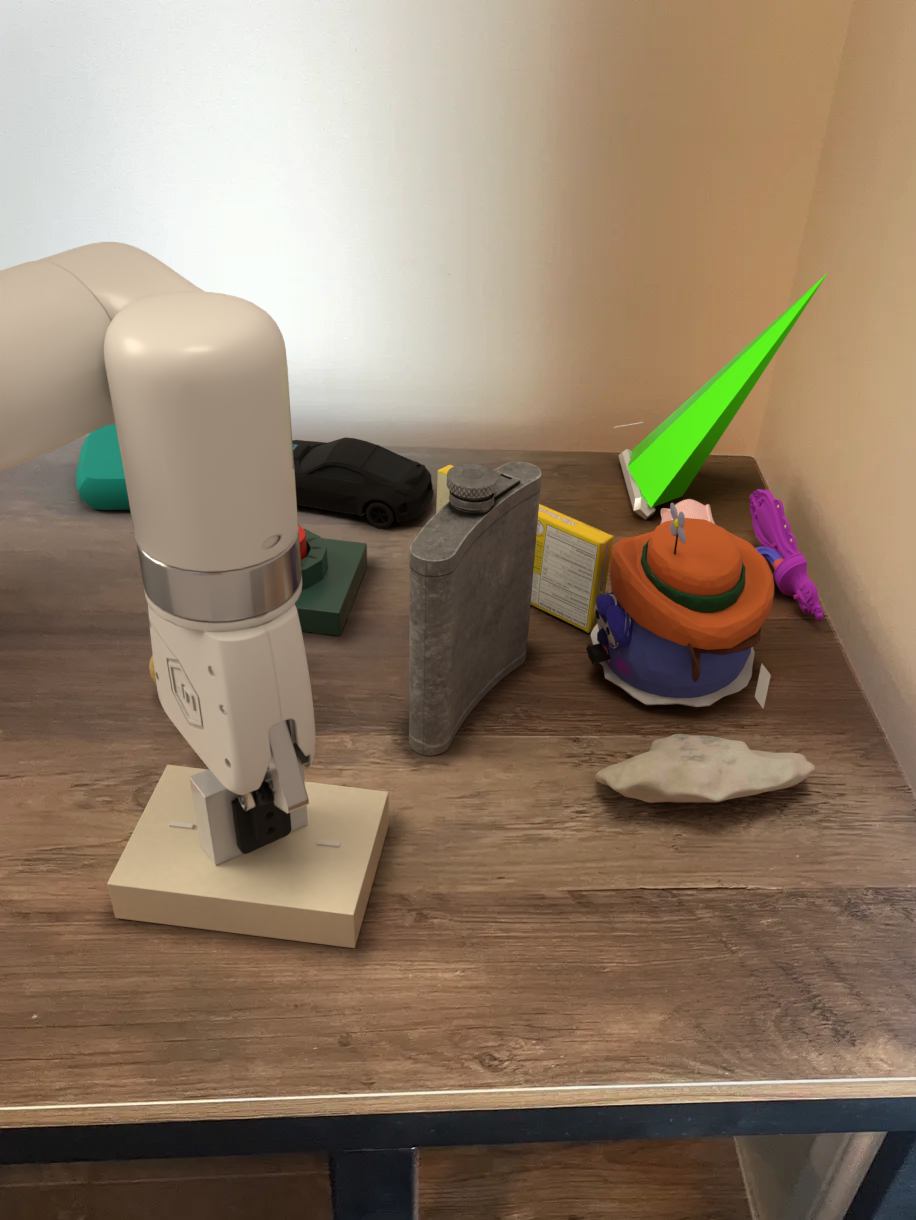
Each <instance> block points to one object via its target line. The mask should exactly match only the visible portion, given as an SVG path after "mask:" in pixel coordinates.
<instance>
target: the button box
mask: <svg viewBox="0 0 916 1220" xmlns="http://www.w3.org/2000/svg"><path fill="white" fill-rule="evenodd" d="M303 529H304V530H305V532H306V545H307V554H306V556H305V558H303V559H302V560H301V572H302V573H301V575H302V590H301V594H300V596H299V598H298V600H297V601H296V602H295V606H296V608H297V612H298V616H299V621H300V626H301V631H302V632H305V633H314V634H321V635H328V636H329V635H330V636H341V634H342V632H343V630H344V627H345V625H346V621H347V620H348V616H349V614H350V611H351V609H352V606H353V603H354V601H355V598H356V596H357V593H358V590H359V588H360V586H361V582H362V580H363V577H364V576H365V573H366V570H367V567H368V543H366V542H359V541H350V540H340V539H332V538H325V537H321V536H320V535H319V534H317V533H314V532H312V531H310V530H308V529H306V528H303Z"/></svg>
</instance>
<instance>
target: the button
mask: <svg viewBox="0 0 916 1220" xmlns="http://www.w3.org/2000/svg"><path fill="white" fill-rule="evenodd" d="M298 527H299V542H300V557H301V560H302V559H303V558H305V556H306V554H307V545H306V532H305V530H304V529H305V528H303V527H302V526H301V525H299V524H298Z"/></svg>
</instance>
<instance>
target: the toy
mask: <svg viewBox="0 0 916 1220" xmlns="http://www.w3.org/2000/svg"><path fill="white" fill-rule="evenodd" d="M643 423H644V421H639V422H634V423H628V424H623V425H622V424H621V425H616V426H613V429H614V428H615V429H616V428H621V427H626V426H632V425H639V424H643ZM675 505H676V504H675V503H674V502H671V503H670V506H669V509H670V512H671V515H672V518H673V519H674V520H670V521H666V522H664V523H662V524H659V525H657V526H656V527H655V528H654V530H653V531H648V532H645V533H641V534H638V535H635V536H630V537H623V538H620V539H619V540H618V541H617V542H615V544H614V545H612V550H611V556H610V562H609V569H608V574H609V580H610V586H611V591H610V592H608V593H605V594H602V595H597V597H596V605H595V608H594V612H595V615H596V618H597V625H596V626H595V627H594V628H593V630H592V631H591V632H590V640H591V642H592V644H591V645H588V646H586V648H585V649H586V653H587V657H588V659H589V660H590V662H591V664H592V665H595V664H600V665H601V666H602V668H603V675H604V679H605V680H607V681H609V682H611V683H612V684H614V685H616V686H617V687H619V688H620V689H622V690H623V691H624V692H625V693H627V694H628V695H629V696H631V697H632V698H633V699H635V700H637V701H639V702H640V703H642V704H644V705H645V706H660V705H661V706H662V705H681V706H687V707H688V706H689V707H694V708H700V707H710V706H711V705H713V704H715V703H716V702H718V701H720V700H721V699H722V698H724V697H726V696H730V695H733V694H736V693H738V692H740V691H742V690H743V689H745V688H746V687H747V686H748V684H749V682H750V680H751V679H752V675H753V665H754V659H755V654H756V653H755V652H756V651H755V650H754V646H756V645H757V644H758V643H760V641H761V631H762V626H763V624H764V623H765V621H766V620H767V619H768V617H769V615H770V614H771V611H772V608H773V601H774V598H775V597H774V596H775V580H774V573H773V572H772V570H771V568H770V565H769V562H768V560H767V559H766V558H764V557H763V556H762V555H761V554H760V553H759V552H758V551H757V550H756V549H755V548H756V547H754V546H753V544H752V543H751V542H749V541H747V540H745V539H743V538H742V537H740V536H737V535H736V534H733V533H732V532H729V531H728V530H727V529H726V528H724V527H722V526H720V525H718V524H716V523H715V524H713V523H711V522H709V521H707V520H704V519H693V518H685V516H684V513H683V512H682V511H681V512H679V515H678V512H677V509H676V507H675ZM771 677H772V675H771V673H770V672H769V670H768V669H767V668H766V667H765V665H764V664H763V663H761V665H760V669H759V674H758V678H757V684H756V688H755V693H754V698H755V700H756V702H757V703H758V704H759V705H760V707H761V708H762V709H763V710H764V708H765V705H766V699H767V695H768V690H769V686H770V681H771Z"/></svg>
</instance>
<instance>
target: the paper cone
mask: <svg viewBox="0 0 916 1220" xmlns="http://www.w3.org/2000/svg"><path fill="white" fill-rule="evenodd" d="M828 274H829V272H826V273H825V274H824V275H823V276H822V277H821V278H820V279H819V280H818V281H816V283H815V284H813V285H812V286H811V287H810V288H808V290H807V291H806V292H805V293H804V294H803V295H801V296H800V297H799V298H798V299H797V300H796V301H795V302H793V303H792V305H790V306H789V307H788V308H787V309H786V310H785V311H784V312H782V313H781V314H780V315H779V316H778V317H777V318H776V319H775V320H774V321H773V322H771V323H770V324H769V325H768V326H767V327H766V328H765V329H764V330H763V331H762V332H760V333H759V334H758V335H757V336H756V337H755V338H754V339H752V341H751V342H750V343H748V344H747V345H746V346H745V347H744V348H743V349H742V350H741V351H739V352H738V353H737V354H736V355H735V356H734V357H733V358H732V359H731V360H730V361H729V362H727V363H726V364H725V365H724V366H723V367H722V368H721V369H719V370H718V372H716V373H715V374H714V375H713V376H712V377H711V378H709V380H708V381H707V382H705V383H704V384H703V385H702V386H701V387H700V388H698V389H697V390H696V391H695V392H694V393H693V394H692V395H691V396H690V397H689V398H688V399H687V400H685V401H684V402H683V403H682V404H681V405H680V406H679V407H678V408H677V409H675V410H674V411H673V412H672V413H671V414H670V415H669V416H668V417H667V418H666V419H665V420H663V421H662V422H661V423H660V424H659V425H658V426H657V427H656V428H655V429H653V430H652V431H651V432H650V433H649V434H648V435H647V436H646V437H645V438H643V439H642V440H641V441H640V442H639V443H638V444H637V445H636V446H634V448H632V450H630V449H629V448H626V449H624V450H623V451H622V452H620V453H619V454H618V460H619V464H620V466H621V471H622V474H623V478H624V482H625V485H626V489H627V493H628V497H629V500H630V504H631V507H632V510H633V512H635V513H636V514H637V516H639V517H641V518H642V519H643V520H645V521H646V520H648V519H649V518H650V517H652V516H653V515H655V512H656V507H658V506H660V505H663V504H666V503H669V502H671V501H673V500H676V499H678V498H681V497H683V496H684V495H685V493H686V491H687V490H688V489H689V487H690V485H691V484H692V483H693V481H694V479H695V478H696V476H697V475H698V473H699V471H700V470H701V468H702V467H703V466H704V464H705V462H706V461H707V459H708V458H709V456H710V454H711V453H712V452H713V450H714V449H715V447H716V446H717V444H718V443H719V441H720V439H721V438H722V436H723V435H724V433H725V432H726V430H727V428H728V427H729V426H730V424H731V422H732V421H733V419H734V418H735V416H736V415H737V413H738V412H739V410H740V408H741V407H742V405H743V404H744V403H745V401H746V400H747V398H748V396H749V395H750V393H751V392H752V390H753V389H754V388H755V386H756V384H757V383H758V382H759V379H760V378H761V377H762V375H763V374H764V372H765V370H766V369H767V367H768V365H769V364H770V363H771V361H772V359H773V358H774V356H775V355H776V353H777V352H778V351H779V349H780V347H781V346H782V344H783V343H784V341H785V340H786V338H787V337H788V335H789V333H790V332H791V331H792V329H793V328H794V326H795V324H797V323H796V322H797V321H798V320H799V319H800V317H801V315H802V314H803V312H804V311H805V309H806V307H807V306H808V304H809V303H810V302H811V300H812V298H813V297H814V295H815V293H816V292H817V290H818V289H819V287H820V286H821V284H822V283H823V281H824V280H825V278H826V277H827V275H828Z"/></svg>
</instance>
